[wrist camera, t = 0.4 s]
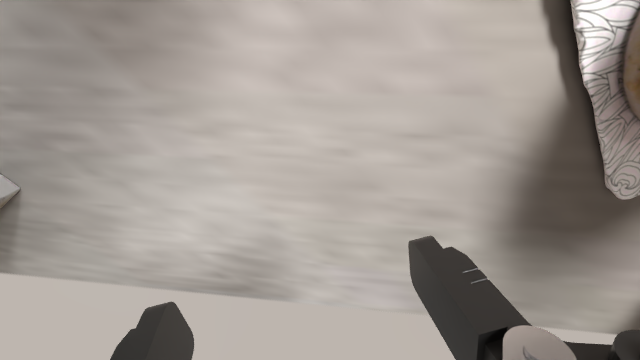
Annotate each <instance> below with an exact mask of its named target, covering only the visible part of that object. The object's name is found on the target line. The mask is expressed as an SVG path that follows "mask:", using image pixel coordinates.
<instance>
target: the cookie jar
mask: <svg viewBox="0 0 640 360" xmlns="http://www.w3.org/2000/svg"><path fill="white" fill-rule="evenodd" d="M570 1H571V8H572V15H573V21H574V31H575V32H576V38H577V45H578V50H579V66H580V69H581V73H582V77H583V83H584V86H585V87H586V89H587V90H588V93H589V95H590V98H591V101H592V105H593V109H594V117H595V125H596V130H597V134H598V138H599V143H600V148H601V153H602V157H603V164H604V171H605V185H606V187H607V188H608V189H610V190H611V191H612V192H613V193H614V194H615V195H616V197H617V198H619V199H623V200H627V199H632V198H634V197H636V196H638V195H640V0H570Z"/></svg>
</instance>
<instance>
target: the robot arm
mask: <svg viewBox="0 0 640 360" xmlns="http://www.w3.org/2000/svg"><path fill="white" fill-rule="evenodd" d="M409 261H410V275H411V279H412V283H413V286H414V288H415V290H416V292H417V294H418V296H419V297H420V299H421V301H422V303H423V304H424V306H425V308H426V309H427V311H428V313H429V315H430V316H431V318H432V320H433V321H434V323H435V325H436V327H437V328H438V330H439V332H440V334H441V335H442V337H443V339H444V340H445V342H446V344H447V346H448V347H449V349H450V351H451V352H452V354H453V356H454V358H455V359H456V360H640V330H628V331H624V332H621V333H620V334H618V335H617V336H616V338H615V340H614V342H613V345H604V344H585V343H571V342H565V341H562V340H561V339H559V338H558V337H557V336H555V335H554V334H552V333H550V332H548V331H546V330H544V329H541V328H538V327H534V326H532V325H530V324H529V323H528V322H527V321H526V320H525V319H524V318H523V316H522V315H521V314H520V313H519V312H518V311H517V310H516V309H515V308H514V307H513V306H512V304H511V303H510V302H509V301H508V300H507V299H506V298H505V297H504V296H503V295H502V293H501V292H500V291H499V290H498V289H497V288H496V287H495V286H494V285H493V284H492V283H491V281H490V280H487V277H486V276H485V275H484V274H483V273H482V272H481V271H480V270H478V267H477V266H476V265H475V264H474V263H473V262H472V261H471V260H470V258H469V257H468V256H467V255H465V254H463V253H462V252H460V251H458V250H456V249H455V248H453V247H448V248H445V249H443V248H442V247H441V246H440V244H439V243H438V242H437V241H436V240H435V238H434V237H432V236H427V237H423V238H419V239H415V240H412V241H409ZM193 349H194V338H193V334H192V331H191V329H190V327H189V326H188V324H187V322H186V321H185V319H184V317H183V316H182V314H181V313H180V310H179V309H178V307H177V305H176V304H175V303H174V302H168V303H164V304H160V305H156V306H153V307H149V308H147V309H145V311H144V313H143V314H142V316H141V319H140V321H139V323H138V325H137V327H136V328H135V329H131V330H130V331H129V332H128V334H127V335H126V336H125V337H124V338H123V340H122V341H121V342H120V343H119V344H118V346H117V347H116V349H115V351H114V353H113V355H112V357H111V359H110V360H191V359H192V355H193Z"/></svg>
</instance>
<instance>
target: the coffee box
mask: <svg viewBox="0 0 640 360" xmlns="http://www.w3.org/2000/svg"><path fill="white" fill-rule="evenodd" d="M19 190H20V188H19V187H18V186H17V185H15V184H14V183H13V182H11V181H10V180H9V179H7V178H6V177H4V176H3V175H1V174H0V208H2V207H3V206H4V205H5V204H6V203H7V202H8V201H9V200H10V199H11V198H12V197H13V196H14V195H15V194H16V193H17V192H18V191H19Z"/></svg>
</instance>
